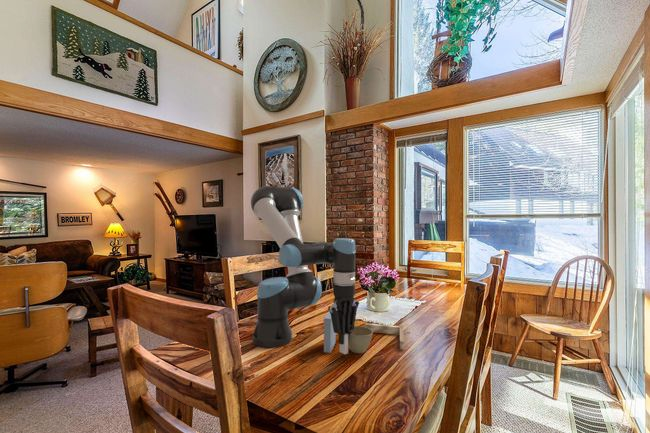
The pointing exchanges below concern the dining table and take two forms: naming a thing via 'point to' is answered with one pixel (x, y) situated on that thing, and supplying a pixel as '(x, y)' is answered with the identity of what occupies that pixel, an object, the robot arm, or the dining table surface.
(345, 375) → the dining table surface
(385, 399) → the dining table surface
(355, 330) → the flower pot
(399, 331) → the l-shaped bracket
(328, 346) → the pale blue rectangular prism
